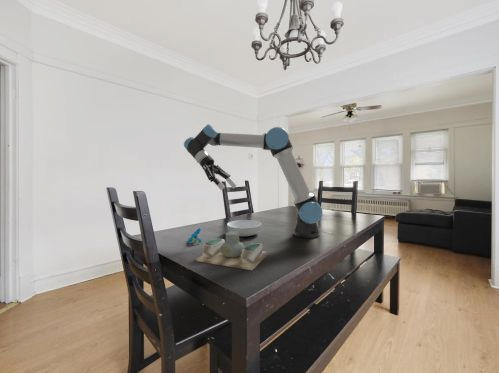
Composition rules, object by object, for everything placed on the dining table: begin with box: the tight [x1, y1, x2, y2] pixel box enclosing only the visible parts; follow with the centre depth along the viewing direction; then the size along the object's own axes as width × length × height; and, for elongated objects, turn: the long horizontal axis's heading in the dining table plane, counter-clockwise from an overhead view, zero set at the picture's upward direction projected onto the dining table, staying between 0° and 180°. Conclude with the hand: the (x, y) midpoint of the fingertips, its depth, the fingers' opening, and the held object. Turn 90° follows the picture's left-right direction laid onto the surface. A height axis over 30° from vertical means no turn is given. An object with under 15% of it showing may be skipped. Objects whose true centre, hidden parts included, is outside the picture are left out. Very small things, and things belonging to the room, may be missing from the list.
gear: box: [186, 227, 203, 245], centre depth 126 cm, size 11×6×10 cm
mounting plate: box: [195, 237, 268, 271], centre depth 102 cm, size 26×18×6 cm
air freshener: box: [220, 231, 246, 258], centre depth 102 cm, size 11×8×10 cm
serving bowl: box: [226, 219, 262, 238], centre depth 140 cm, size 21×21×7 cm
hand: (229, 187), depth 123 cm, fingers open, 13 cm apart
